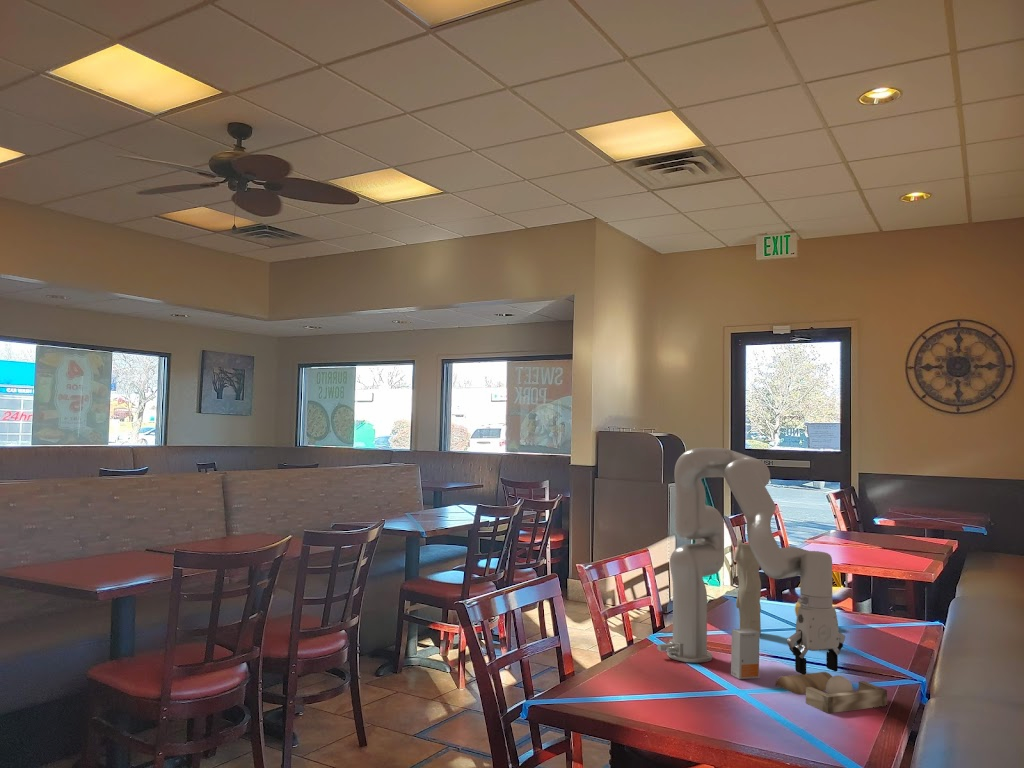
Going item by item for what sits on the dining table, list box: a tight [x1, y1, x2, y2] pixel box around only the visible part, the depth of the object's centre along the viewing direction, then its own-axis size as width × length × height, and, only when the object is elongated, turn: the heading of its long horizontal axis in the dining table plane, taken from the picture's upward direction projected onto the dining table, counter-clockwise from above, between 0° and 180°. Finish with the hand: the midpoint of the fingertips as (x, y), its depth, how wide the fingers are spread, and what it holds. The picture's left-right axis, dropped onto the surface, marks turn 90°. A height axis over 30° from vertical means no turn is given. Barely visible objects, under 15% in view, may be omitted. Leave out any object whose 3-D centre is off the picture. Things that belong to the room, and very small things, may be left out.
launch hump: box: [775, 671, 833, 695], centre depth 197 cm, size 13×8×8 cm, turn 110°
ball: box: [826, 675, 854, 694], centre depth 186 cm, size 6×6×6 cm
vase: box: [733, 538, 762, 634], centre depth 251 cm, size 9×8×30 cm
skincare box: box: [730, 628, 761, 680], centre depth 204 cm, size 6×4×12 cm
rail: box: [805, 680, 888, 714], centre depth 184 cm, size 18×7×4 cm, turn 110°
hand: (816, 671), depth 194 cm, fingers open, 9 cm apart
